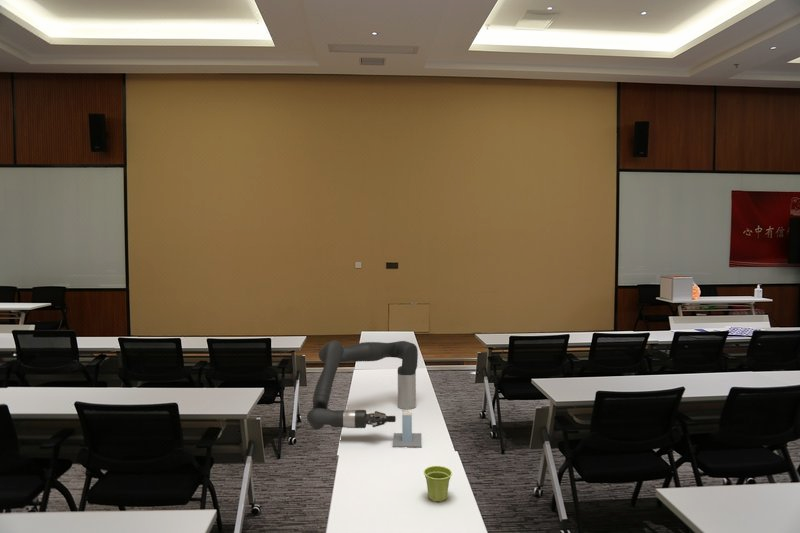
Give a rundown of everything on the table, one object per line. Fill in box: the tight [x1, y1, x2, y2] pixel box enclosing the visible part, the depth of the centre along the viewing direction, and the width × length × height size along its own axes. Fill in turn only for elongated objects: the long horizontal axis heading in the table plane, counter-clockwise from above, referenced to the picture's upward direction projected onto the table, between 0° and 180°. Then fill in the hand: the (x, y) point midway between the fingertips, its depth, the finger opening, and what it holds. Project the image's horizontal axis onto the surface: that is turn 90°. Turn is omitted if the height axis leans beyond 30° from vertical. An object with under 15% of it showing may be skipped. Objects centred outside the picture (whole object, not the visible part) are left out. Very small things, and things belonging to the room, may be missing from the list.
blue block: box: [401, 409, 413, 441], centre depth 217 cm, size 4×4×12 cm
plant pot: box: [423, 465, 453, 502], centre depth 170 cm, size 9×9×9 cm
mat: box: [392, 432, 423, 449], centre depth 218 cm, size 14×12×1 cm
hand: (395, 418), depth 217 cm, fingers closed
